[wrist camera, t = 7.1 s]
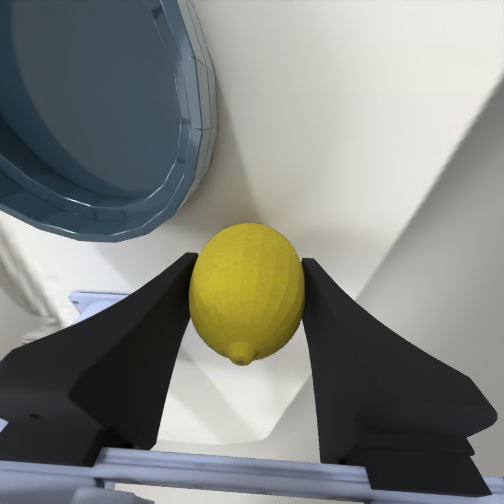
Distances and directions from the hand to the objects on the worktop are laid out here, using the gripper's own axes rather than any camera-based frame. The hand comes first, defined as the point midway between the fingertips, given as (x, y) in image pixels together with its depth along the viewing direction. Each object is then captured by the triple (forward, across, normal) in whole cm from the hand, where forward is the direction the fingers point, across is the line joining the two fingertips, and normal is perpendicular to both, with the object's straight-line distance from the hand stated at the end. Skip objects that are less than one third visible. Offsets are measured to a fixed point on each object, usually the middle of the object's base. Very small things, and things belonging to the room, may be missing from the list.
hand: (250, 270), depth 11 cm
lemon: (+3, 0, 0) cm, 3 cm away
